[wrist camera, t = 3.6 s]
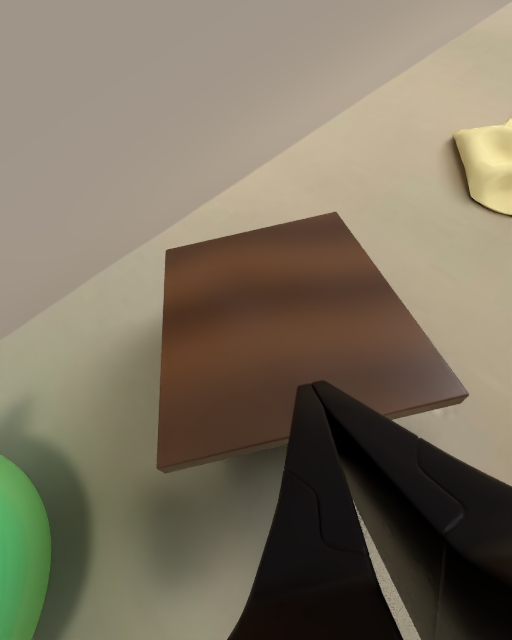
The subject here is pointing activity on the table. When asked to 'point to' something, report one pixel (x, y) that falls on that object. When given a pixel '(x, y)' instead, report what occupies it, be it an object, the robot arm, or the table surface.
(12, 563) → the toy bird
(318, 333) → the lid
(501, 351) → the table surface
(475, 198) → the cloth
